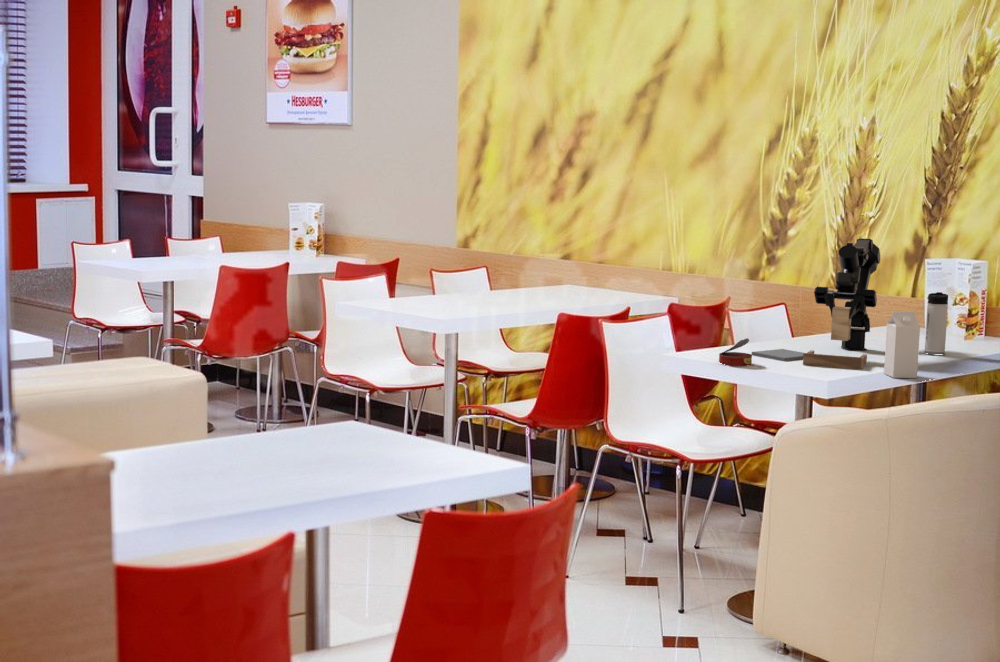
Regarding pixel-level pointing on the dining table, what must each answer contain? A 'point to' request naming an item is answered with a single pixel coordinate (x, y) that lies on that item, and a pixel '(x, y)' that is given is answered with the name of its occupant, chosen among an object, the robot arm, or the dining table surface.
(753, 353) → the mat
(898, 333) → the milk carton
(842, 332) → the packed blank
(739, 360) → the canned food
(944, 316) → the travel mug
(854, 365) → the tray
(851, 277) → the robot arm
